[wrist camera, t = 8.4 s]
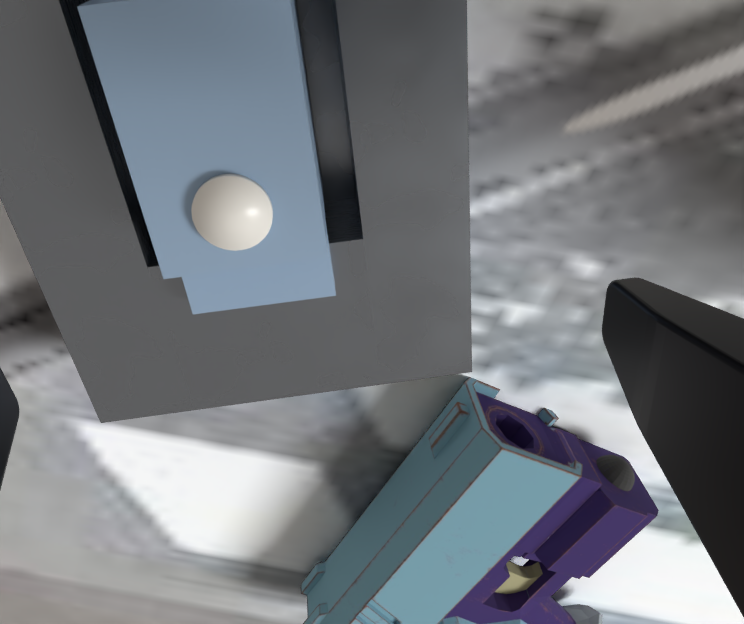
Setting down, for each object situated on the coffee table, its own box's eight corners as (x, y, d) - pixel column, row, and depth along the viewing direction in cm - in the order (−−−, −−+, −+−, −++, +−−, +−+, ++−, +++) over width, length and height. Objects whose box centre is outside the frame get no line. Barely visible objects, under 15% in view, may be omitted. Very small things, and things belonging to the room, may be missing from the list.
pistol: (518, 641, 37) (283, 588, 32) (708, 468, 31) (451, 365, 25) (541, 717, 34) (283, 672, 28) (761, 541, 27) (477, 439, 22)
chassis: (426, -380, 14) (460, -455, 11) (450, 314, 24) (471, 371, 21) (-140, -322, 13) (-259, -382, 11) (125, 359, 23) (100, 423, 20)
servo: (276, -134, 15) (267, -148, 11) (330, 240, 21) (339, 329, 16) (109, -115, 15) (32, -121, 11) (208, 255, 21) (183, 350, 16)
